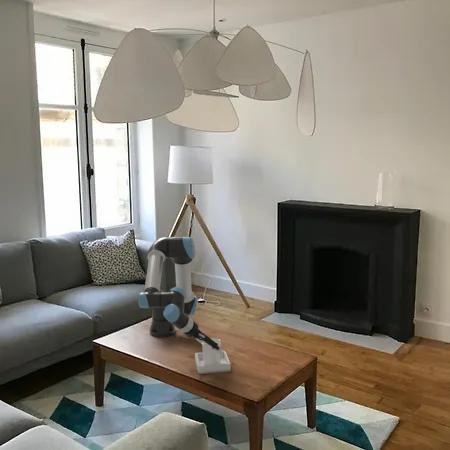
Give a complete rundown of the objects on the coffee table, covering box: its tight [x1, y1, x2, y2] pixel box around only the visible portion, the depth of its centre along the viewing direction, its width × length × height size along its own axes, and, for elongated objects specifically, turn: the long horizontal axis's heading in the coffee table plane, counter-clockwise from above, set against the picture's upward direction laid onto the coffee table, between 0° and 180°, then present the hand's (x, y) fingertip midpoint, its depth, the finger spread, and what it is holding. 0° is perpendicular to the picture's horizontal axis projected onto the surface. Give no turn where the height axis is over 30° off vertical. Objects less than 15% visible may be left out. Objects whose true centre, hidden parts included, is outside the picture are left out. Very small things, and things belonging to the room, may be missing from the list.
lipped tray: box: [194, 350, 232, 375], centre depth 265 cm, size 16×16×4 cm
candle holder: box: [201, 337, 222, 365], centre depth 265 cm, size 10×10×12 cm
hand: (212, 347), depth 264 cm, fingers open, 13 cm apart
